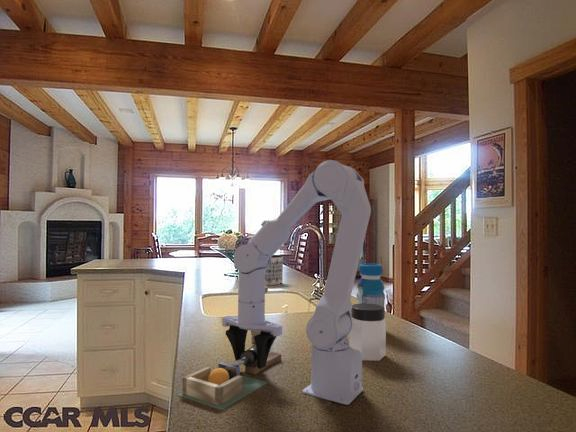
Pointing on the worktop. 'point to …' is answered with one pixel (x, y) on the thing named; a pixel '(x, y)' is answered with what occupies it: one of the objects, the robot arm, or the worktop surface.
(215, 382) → the ball
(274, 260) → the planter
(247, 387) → the mat
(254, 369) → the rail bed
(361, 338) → the jar
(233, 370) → the dark grey round-headed part
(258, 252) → the robot arm
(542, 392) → the worktop surface
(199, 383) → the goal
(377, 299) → the beverage bottle
